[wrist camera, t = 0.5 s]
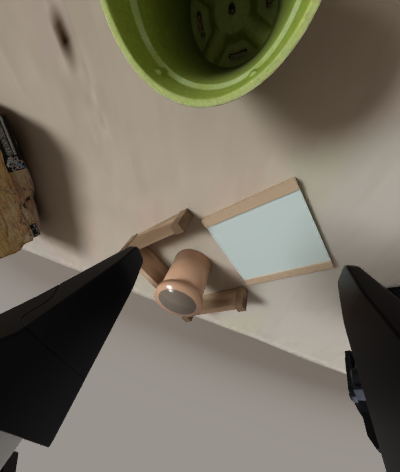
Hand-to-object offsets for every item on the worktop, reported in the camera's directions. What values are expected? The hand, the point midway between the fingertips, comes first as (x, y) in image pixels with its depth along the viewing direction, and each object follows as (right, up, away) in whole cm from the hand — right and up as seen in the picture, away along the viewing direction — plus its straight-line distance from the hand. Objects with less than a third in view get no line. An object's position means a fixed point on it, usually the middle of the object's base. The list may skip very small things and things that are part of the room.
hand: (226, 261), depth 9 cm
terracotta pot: (-2, -3, +21) cm, 22 cm away
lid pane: (+7, +1, +15) cm, 17 cm away
